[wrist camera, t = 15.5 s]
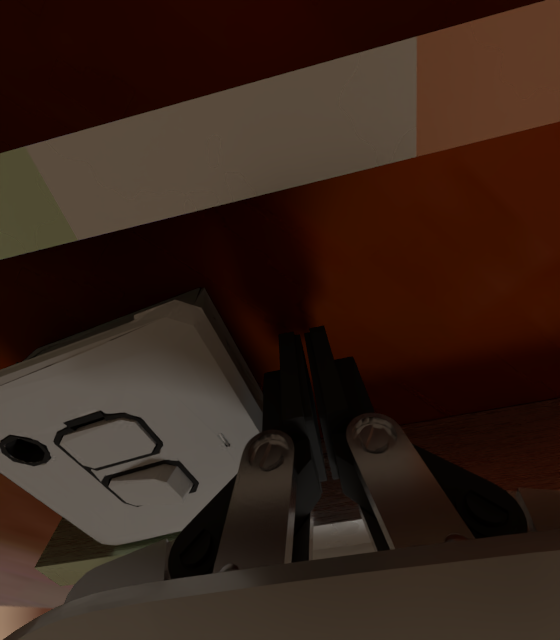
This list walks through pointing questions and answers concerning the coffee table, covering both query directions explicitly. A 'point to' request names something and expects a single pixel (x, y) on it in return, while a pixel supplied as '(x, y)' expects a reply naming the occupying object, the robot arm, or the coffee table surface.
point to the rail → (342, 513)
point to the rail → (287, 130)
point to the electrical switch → (131, 420)
